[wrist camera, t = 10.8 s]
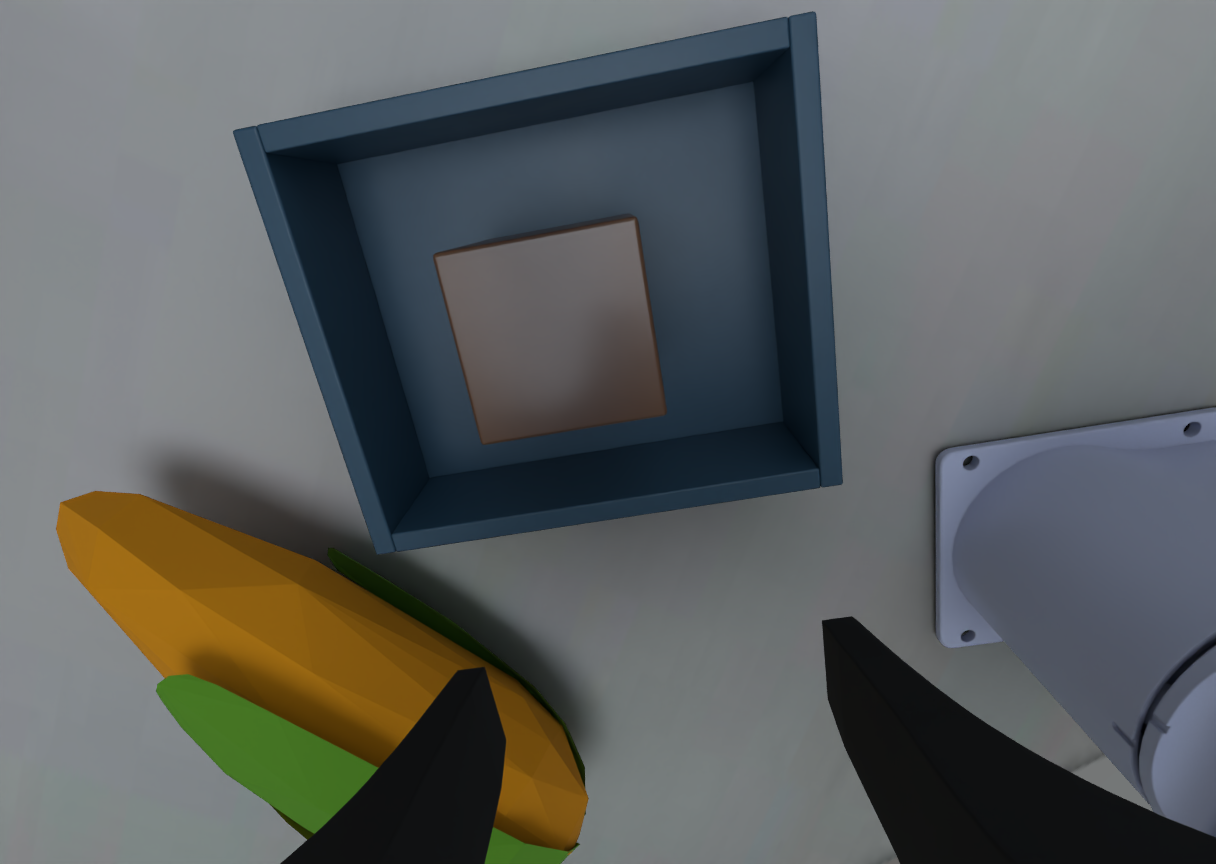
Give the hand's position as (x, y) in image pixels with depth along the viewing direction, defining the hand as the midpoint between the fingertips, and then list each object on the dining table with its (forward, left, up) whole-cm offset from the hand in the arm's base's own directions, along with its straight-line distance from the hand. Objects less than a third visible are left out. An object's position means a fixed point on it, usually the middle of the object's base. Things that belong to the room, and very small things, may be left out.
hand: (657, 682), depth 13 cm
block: (+1, -7, -9) cm, 11 cm away
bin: (+1, -7, -9) cm, 12 cm away
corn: (+11, +4, -10) cm, 15 cm away
